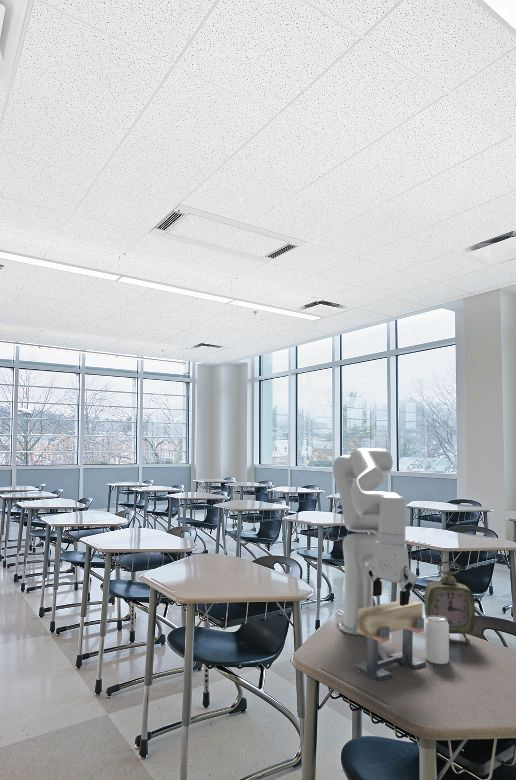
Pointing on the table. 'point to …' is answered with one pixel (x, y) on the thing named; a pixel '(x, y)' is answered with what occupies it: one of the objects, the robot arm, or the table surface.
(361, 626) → the rail
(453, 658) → the table surface
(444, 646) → the can
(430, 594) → the tabletop clock
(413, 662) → the grey support stand
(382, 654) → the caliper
